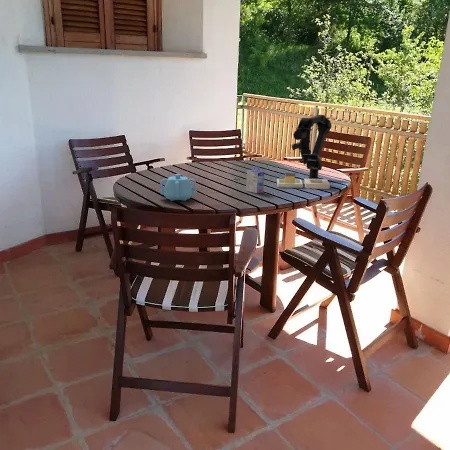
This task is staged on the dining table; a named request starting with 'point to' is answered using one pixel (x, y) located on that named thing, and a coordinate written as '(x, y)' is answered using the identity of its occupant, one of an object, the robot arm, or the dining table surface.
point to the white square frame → (317, 183)
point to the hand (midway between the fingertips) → (303, 163)
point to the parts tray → (282, 184)
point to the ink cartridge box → (255, 181)
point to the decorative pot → (178, 188)
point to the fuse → (290, 178)
